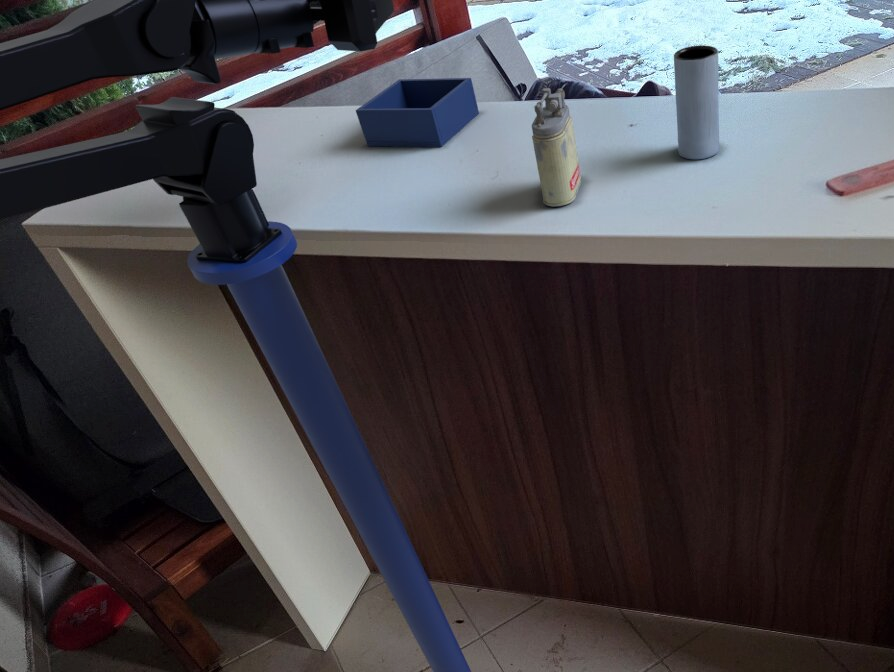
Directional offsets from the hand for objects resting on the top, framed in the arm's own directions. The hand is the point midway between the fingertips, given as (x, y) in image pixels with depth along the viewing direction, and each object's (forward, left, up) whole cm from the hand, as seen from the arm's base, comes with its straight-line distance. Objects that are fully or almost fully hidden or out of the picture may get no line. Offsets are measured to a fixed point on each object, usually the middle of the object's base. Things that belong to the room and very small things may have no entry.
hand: (362, 4), depth 82 cm
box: (+9, +3, -17) cm, 20 cm away
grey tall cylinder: (+3, -36, -17) cm, 40 cm away
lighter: (-8, -24, -17) cm, 30 cm away
